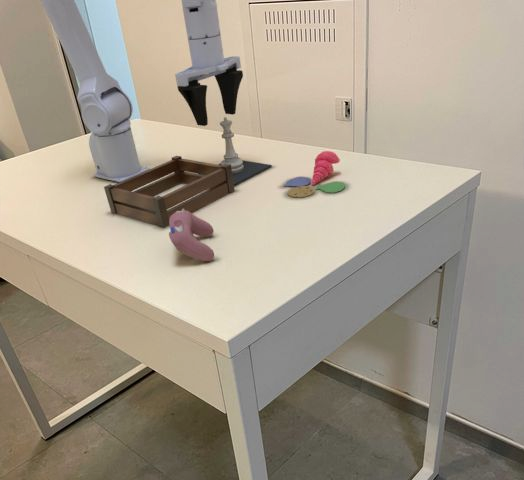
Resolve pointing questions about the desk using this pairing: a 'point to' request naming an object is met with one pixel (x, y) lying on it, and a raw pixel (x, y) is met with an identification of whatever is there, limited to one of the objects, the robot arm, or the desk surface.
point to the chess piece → (230, 148)
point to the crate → (155, 208)
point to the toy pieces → (317, 177)
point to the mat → (248, 171)
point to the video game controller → (190, 235)
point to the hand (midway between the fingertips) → (216, 119)
